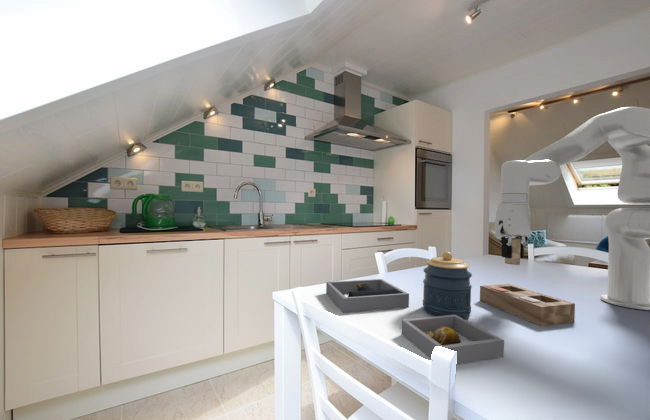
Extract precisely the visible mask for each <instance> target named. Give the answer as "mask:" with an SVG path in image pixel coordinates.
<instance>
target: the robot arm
mask: <svg viewBox="0 0 650 420" xmlns="http://www.w3.org/2000/svg"><path fill="white" fill-rule="evenodd" d="M605 142H608V144H609V145H610V146H611V147H612V148H613V149H614V150H615V152H616V153H617V154H618V155H619V157H620V159H621V161H622V163H621V171H620V177H619V182H618V187H617V198H618V199H619V201H620V202H621V203H625V204H627V205H628V204H629V205H630V204H631V205H650V108H647V107H640V106H625V107H620V108H619V107H618V108H617V109H613V110H610V111H607V112H604V113H600V114H598V115H595V116H593V117H591V118H589V119H587V120H586V121H584V122H583V123H582V124H580V125H579V126H577V127H576V128H575V129H574V130H572V131H571V132H569V133H568V134H566V135H565V136H564V137H562V138H561V139H558V140H557V141H555V142H553V143H550V145H548V146H546V147H544V148H542V149H540V150H538V151H536V152H535V153H532V154H530V156H528V157H526V158H524V160H523V159H522V160H521V159H520V160H519V159H518V160H517V159H516V160H509V161H505V162H503V163H502V165H501V168H500V172H501V174H500V201H499V202H500V203H498V204H497V208H496V212H495V220H494V234H493V235H494V237H495V238H496V239H498V241H499V244H500V245H501V257H502V258H504V259H505V258H512V246H511V240H512V238H518V239H521V246H520V259H523V258H524V255H525V254H524V252H525V246H526V242H527V241H528V240H529V238H531V237H532V232H531V228H532V222H531V219H532V218H531V209H530V208H531V207H530V204H529V203H530V201H529V200H530V186H541V185H548V184H551V183H554V182H556V181H557V180H558V179H559V178H560V177H561V175H562V168H561V167H562V166H564V165H567V164H571V163H574V162H576V161H579V160H581V159H583V158H585V157H586V156H588V155H589V154H590V153H592V152H593V151H594V150H596V149H597V148H599V147H600V146H601V145H603V144H604V143H605ZM604 222H605V223H604V224H605V228H606V234H607V238H608V259H607V263H608V264H607V288H606V289H607V292H606V294H601V295H600V300H601V301H603V302H605V303H608V304H610V305H614V306H619V307H621V308H622V307H624V308H626V309H627V308H628V309H633V310H641V311H650V246H649V244H648V242H647V240H645V239H649V240H650V207H620V208H616V209H613V210H611V211H610V212H609V213H608V214H607V215H606V217H605V221H604ZM506 238H507V239H506Z"/></svg>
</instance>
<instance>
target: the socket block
mask: <svg viewBox="0 0 650 420" xmlns="http://www.w3.org/2000/svg"><path fill="white" fill-rule="evenodd" d="M479 302H481V303H484V304H487V305H489V306H491V307H494V308H496V309H498V310H501V311H503V312H506V313H509V314H511V315H513V316H515V317H518V318H520V319H523V320H526V321H528V322H531V323H532V324H535V325H538V326H539V327H543V326H544V327H546V326H553V325H560V324H568V323H569V324H570V323H575V319H576V315H575V314H576V302H575V303H574V302H571V301H568V300H565V299H561V298H557V297H555V296H551V295H548V294H545V293H544V294H543V293H540V292H538V291H534V290H531V289H529V288H528V289H527V288H525V287H521V286H517V285H515V284H511V283H506V284H503V283H501V284H499V283H498V284H488V285H487V284H485V285H480V286H479Z"/></svg>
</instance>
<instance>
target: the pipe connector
mask: <svg viewBox="0 0 650 420" xmlns="http://www.w3.org/2000/svg"><path fill="white" fill-rule="evenodd" d="M386 294H399V293H398V291H397V290H396V289H384V290H375V289H374V288H372V286H371V285H370V284H368V283H362V284H357V291H352V292H349V293H347V297H358V296H372V295H386Z"/></svg>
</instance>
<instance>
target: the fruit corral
mask: <svg viewBox="0 0 650 420" xmlns="http://www.w3.org/2000/svg"><path fill="white" fill-rule="evenodd" d="M443 326H445V327H448V328H451V329H453V330H454V331H456V332H457V334H458V335H459V334H460V335H461V336H463V337H464V338H466V339H467V340H469V341H467V342H461V343H458V344H451V345H443V346H442V345H441V344H439V343H438V342H436V341H435V340H434V339H432V338H431V337H430V336H428V335H427V334H425V333H424V332H429V331H431V332H432V333H434V331H435V330H436V329H439V328H440V327H443ZM401 335H402V336H403V337H404V338H406V340H408V341H409V342H410V343H411V344H413V345H414V347H416V348H417V349H418V350H419V351H421V352H422V353H423V354H425V356H427V357H428V358H429V359H430V360H432V359H431V354H432V351H433V349H434V347H435V346H442V347H445V348H448V349H451V350H454V351H457V365H462V364H463V365H464V364H469V363H476V362H482V361H488V360H496V359H501V358H504V353H505V352H504V350H505V349H504V348H505V340H504V339H502V338H500V337H498V336H497V335H495V334H493V333H491V332H489V331H487V330H485V329H483V328H482V327H480V326H478V325H476V324H474V323H472V322H470V321H468V320H467V319H463V318H461V317H459V316H457V315H445V316H427V317H426V316H424V317H417V318H406V319H401ZM457 365H456V366H457Z"/></svg>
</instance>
